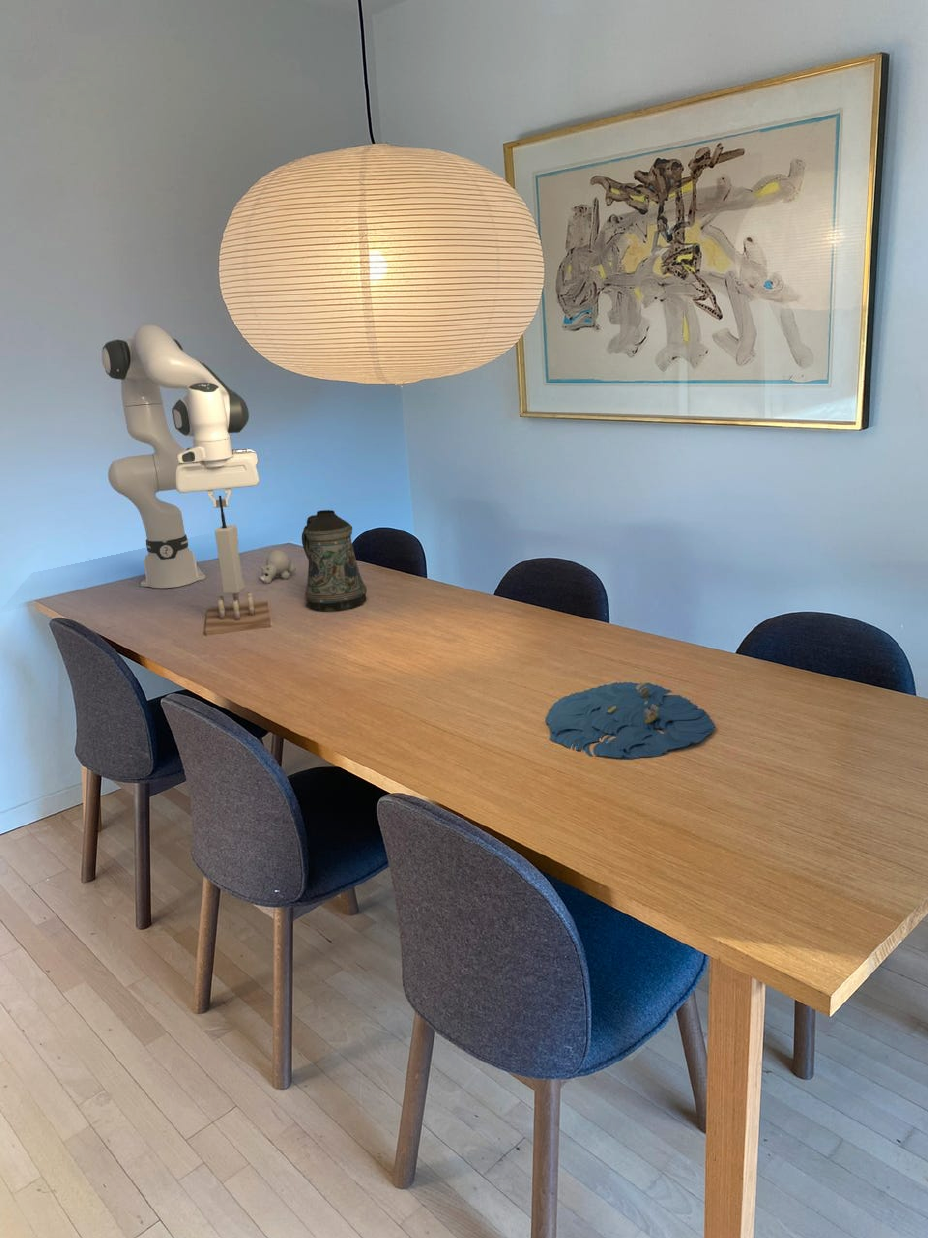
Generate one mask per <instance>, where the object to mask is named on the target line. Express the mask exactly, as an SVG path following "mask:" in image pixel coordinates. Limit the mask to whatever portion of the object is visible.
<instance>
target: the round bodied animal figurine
mask: <svg viewBox="0 0 928 1238" xmlns="http://www.w3.org/2000/svg"><path fill="white" fill-rule="evenodd" d="M259 569H261V574H262V575H261V576H260V579H261V581H262V582H263V584H265V585H268V584H271V583H272V581H273V579H274V578H275V579H279V578H280V579H282V580H287V579H289V578H290V577H291V574H293V573H295V572H296V570H297V567H296V566H295V565H294V564H293V563H292V562H291V558H290V555H289V554H288V553H287V552H286V551H283V550H280V549H277V550H273V551H271V552H269V554H267V557H266V559H265V565H264V566H262V565H260V566H259Z"/></svg>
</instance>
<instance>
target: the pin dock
mask: <svg viewBox="0 0 928 1238" xmlns="http://www.w3.org/2000/svg"><path fill="white" fill-rule="evenodd" d="M246 599H247V602H245V603H244V602H243V603H240V599H239V593H237V594H232V604H230V605H228V604H227V605H226V604H225V600H224V595H218V596H217V606H214V607H213V606H212V607H208V608H207V607H206V617H205V627H204V631H205V633H204V634H205V636H210V635H216V634H217V635H218V634H224V633H234V632H242V631H248V630H249V631H250V630H257V629H265V628H270V627H272V624H271V618H270V617H271V616H270V609H269V603H268V600H262V601H261V600H260V601H255V602H254V596H253V592H252V591H249V592H247V593H246Z"/></svg>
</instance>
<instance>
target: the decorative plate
mask: <svg viewBox="0 0 928 1238" xmlns="http://www.w3.org/2000/svg"><path fill="white" fill-rule="evenodd" d="M669 693H673V691H672V690H671V689H667V688H665V687H663V686H662V685H660V686H659V684H653V683H650V682H631V681H628V682H627V681H623V682H622V681H620V682H617V681H616V682H615V681H614V682H613V683H610V684H603V685H598V686H596V687H590V688H589V689H584V690H583V691H578V692H575V693H570V694H569V695H565V696H563V697H561V698H560V699H558V701H556V702H554V703H553V704H552V705H551V707H550V708H549V709H548V713H547V715H546V717H545V718H544V719H545V722H546V724H548V729H549V731H550V735H549V740H550V741H552V742H554V743H556V744H560V745H562V746H564V747H566V748H567V749H571V750H572V751H575V750H576V751H577V752H578V751H579V752H585V754H586V755H587V756H589V757H598V756H600V757H608V758H613V759H617V758H619V759H620V758H621V759H622V760H630V759H633V760H636V759H638V758H643V757H644V758H645V757H658V756H659V757H661V756H662V755H663V754H665V755H669V754H670V753H669V752H668V751H669V750H674V749H677V748H678V749H679V748H686V747H687V746H689V745H691V744H698V743H700V742H702V741H703V740H704V739H705V737H707V736H708V735H709V734H712V733H713V732H714V731H715V729H716V726H715V723H714V722H713V721H712V719H711V716H710V715H709V714H708V713H707V711H706V710H705V709H704V708H703V709H702V707H701V708H699V706H698V705H697V704H694V703H693V702H691V700H690V699H687V698H686V697H683V696H682V695H680V694H669ZM666 694H667V695H666ZM657 729H658V730H660V731H661V732H660V731H658V730H657ZM606 735H607V736H606ZM604 736H606V737H605V738H604V739H603V737H604ZM614 736H615V737H614ZM612 737H614V738H612ZM611 738H612V739H611ZM600 740H601V741H600ZM593 742H595V743H596V742H598V743H597V744H594V746H593V748H592V752H593V753H592V752H591V749H590V748H591V745H592V744H593ZM576 751H575V752H576ZM593 755H594V756H593Z"/></svg>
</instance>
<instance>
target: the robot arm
mask: <svg viewBox="0 0 928 1238" xmlns="http://www.w3.org/2000/svg"><path fill="white" fill-rule="evenodd" d="M101 363H102V366H103V368H104V370H105V373H106V375H108V376H109V377H110V378H111V379H114V380H120V381H121V382H120V386H121V387H120V389H121V390H120V391H121V392H120V393H121V401H122V407H123V413H124V418H125V419H124V420H125V424H126V430H127V433H128V435H130V438H132V439H133V440H136V441H138V442H140V443H144V444H147V445H149V446H151V447H152V449H153V451H154V452H153V453H150V454H149V453H148V454H141V455H131V456H126V457H123V458H119V459H117V460H116V459H115V460H114V461H112V463H111V464H110V466H109V468H108V472H107V476H108V481H109V484H110V486H111V487H112V489H113V490H114V491H115V492H117V493H118V494H120V495H122V496H124V497H125V498H126V499H128V500H129V501H131V502H132V504H133V505H134V506H135V507H136V509H137V510H138V512H139V514H140V516H141V520H142V523H143V524H142V525H143V527H144V532H145V537H146V539H145V547H146V551H147V554H146V556H144V558H143V565H144V573H145V579H144V580H143V581H141V582H140V586H141V587H147V588H148V587H149V588H152V589H171V588H179V587H184V586H188V585H191V584H193V583H196V582H199V581H203V580H205V579H206V575H205V573H204V572H203V571H202V570H201V569H200V567H199V565H198V563H197V562H196V557H195V555H196V554H195V553H194V552H193V551H192V550H190V548H189V547H188V546H189V540H188V536H187V534H185V527H184V522H183V521H184V519H183V515H182V512H181V510H180V508H179V507H178V506H176V505H175V504H173V503H170V502H167V501H164V500H161V499H159V498H158V497H157V495H156V494H157V493H159V492H164V491H165V492H166V491H173V490H176V491H177V492H178V493H179V494H184V493H185V494H186V493H195V492H196V493H197V492H205V491H206V492H207V495H208V498H210V500H211V501H212V502H213V506H214V509H219V508H220V501H219V499H216V497H215V496H214V493H215V492H214V491H218V490H224V491H225V494H226V495H225V498H222V505H223V508H228V507H229V505H230V503H229V500H230V496H231V494H232V489H237V488H246V487H249V488H250V487H255V486H258V485H259V483H260V481H261V480H260V476H259V471H258V467H257V466H258V463H259V457H258V453H257V452H256V451H255V450H253V449H251V448H243V449H233V448H232V442H231V436H230V434H234V433H235V434H237V433H241V431H242V430H243V429H244V428H245V427H246V426H247V424H248V422H249V419H250V418H249V417H250V413H249V412H250V411H249V408H248V406H247V403H246V401H245V400H244V399H243V398H242V397H241V395H240V394H238V393H237V392H235V391H233V390H232V389H230V387H229V386H227V385H226V383H224V381H222V380H221V378H219V377H218V375H217V374H216V373H215V372H214V371H213V370H212V369H211V368H210V367H209V366H208V365H206V364H205V363H204V362H202V361H201V360H200V361H199V360H197V359H195V358H193V357H192V356H190V355H188V354H187V353H185V352H184V349H183V346H182V345H181V344H180V342H179V341H178V340H177V339H175V338H172V337H171V336H170V334H169V333H167V332H166V331H165V329H163V328H162V327H160V326H158V325H155V324H146V325H143V326H141V327H139V328H138V329H137V330H136V331H135V333H134V335H133V338H127V339H113V340H111V341H107V342H106V343H105V344H104V346H103V347H102V350H101ZM161 387H162V388H167V389H181V390H182V389H184V390H186V391H187V393H186V396H184V397H183V398H180V399H178V400H177V401H176V402H175V403H174V404H173V405H174V406H172V409H171V411H172V419H173V425H174V428H175V430H176V431H178V432H179V433H181V435H183V436H185V437H193V438H192V439H193V440H192V443H193V446H191V447H187V448H186V449H184V448H183V447H182V446H181V445H180V444H179V443H178V442H177V441H176V439H174V437H173V435H172V433H171V431H170V428H169V425H168V421H167V417H166V413H165V408H164V407H165V406H164V401H163V397H162V391H161Z"/></svg>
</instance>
